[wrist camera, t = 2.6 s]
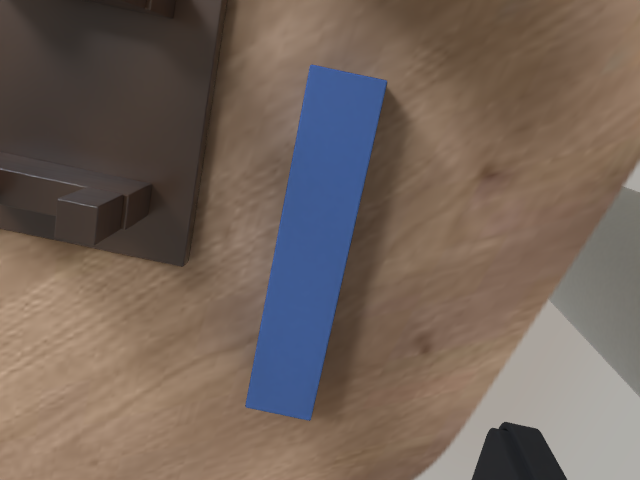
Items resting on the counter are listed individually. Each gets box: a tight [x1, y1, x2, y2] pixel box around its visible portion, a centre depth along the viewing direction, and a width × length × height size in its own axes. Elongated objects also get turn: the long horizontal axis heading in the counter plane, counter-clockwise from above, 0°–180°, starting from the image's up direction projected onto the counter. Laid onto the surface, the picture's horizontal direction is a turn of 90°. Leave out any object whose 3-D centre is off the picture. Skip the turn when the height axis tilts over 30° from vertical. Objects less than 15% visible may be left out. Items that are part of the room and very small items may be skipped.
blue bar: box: [245, 65, 387, 421], centre depth 27 cm, size 3×16×3 cm, turn 168°
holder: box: [0, 0, 227, 267], centre depth 24 cm, size 12×15×7 cm
